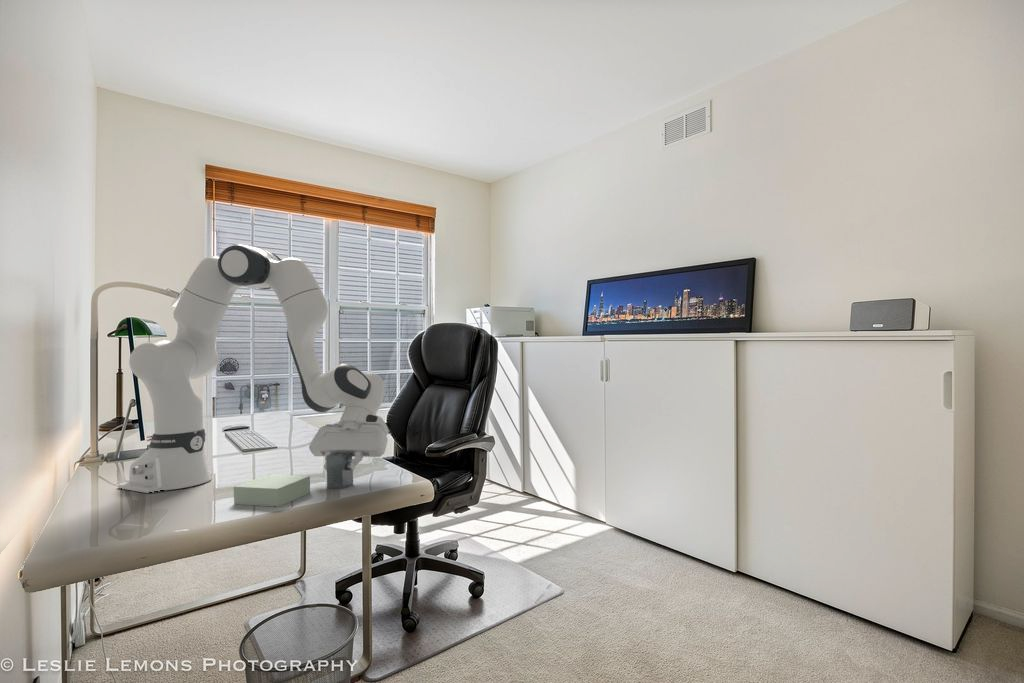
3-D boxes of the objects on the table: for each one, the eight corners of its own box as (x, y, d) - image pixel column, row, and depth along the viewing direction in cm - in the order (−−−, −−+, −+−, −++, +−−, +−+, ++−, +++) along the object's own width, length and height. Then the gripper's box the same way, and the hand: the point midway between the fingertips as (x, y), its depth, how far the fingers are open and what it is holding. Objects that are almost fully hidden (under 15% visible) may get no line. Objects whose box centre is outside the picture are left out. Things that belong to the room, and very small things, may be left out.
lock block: (327, 488, 126) (326, 456, 127) (337, 483, 131) (337, 452, 131) (342, 488, 125) (341, 456, 125) (353, 484, 130) (352, 452, 130)
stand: (234, 504, 115) (233, 486, 115) (269, 490, 126) (268, 474, 126) (278, 506, 112) (277, 488, 112) (310, 492, 123) (309, 476, 123)
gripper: (316, 417, 137) (295, 462, 127) (387, 417, 133) (371, 462, 123) (325, 431, 141) (306, 475, 131) (394, 431, 138) (379, 476, 128)
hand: (338, 469), depth 127 cm, fingers closed on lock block, 5 cm apart
